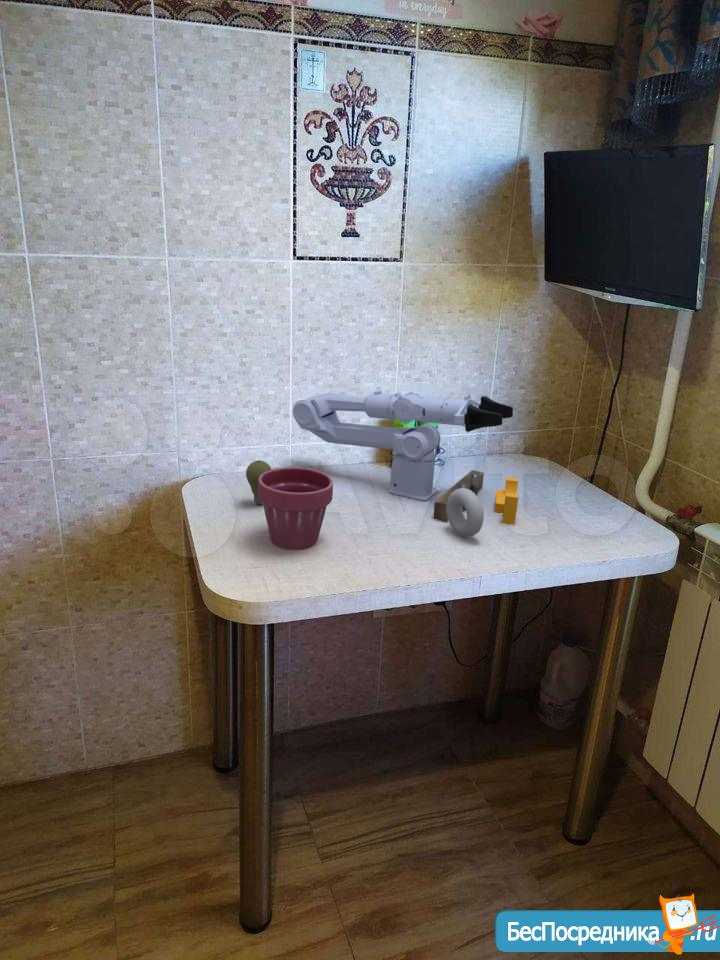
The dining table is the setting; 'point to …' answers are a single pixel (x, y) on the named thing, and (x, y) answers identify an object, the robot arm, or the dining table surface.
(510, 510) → the pipe clamp
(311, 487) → the plant pot
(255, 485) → the light bulb
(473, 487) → the bench fence
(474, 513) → the donut
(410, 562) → the dining table surface
